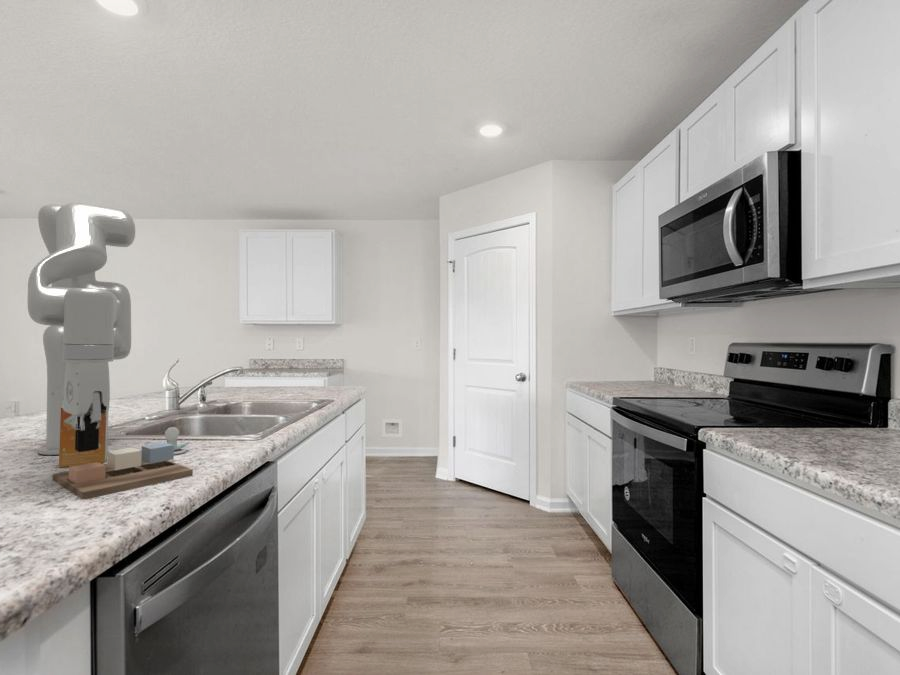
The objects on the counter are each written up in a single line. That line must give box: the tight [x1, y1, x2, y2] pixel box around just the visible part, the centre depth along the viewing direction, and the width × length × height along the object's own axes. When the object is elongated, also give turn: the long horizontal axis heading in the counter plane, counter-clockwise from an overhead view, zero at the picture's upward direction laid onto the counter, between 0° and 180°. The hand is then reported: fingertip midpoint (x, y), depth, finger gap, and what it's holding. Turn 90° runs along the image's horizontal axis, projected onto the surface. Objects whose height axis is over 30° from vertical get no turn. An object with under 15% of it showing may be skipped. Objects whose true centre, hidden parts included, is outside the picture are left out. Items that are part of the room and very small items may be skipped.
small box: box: [58, 406, 110, 468], centre depth 102 cm, size 8×6×13 cm
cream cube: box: [106, 447, 142, 470], centre depth 91 cm, size 4×4×3 cm
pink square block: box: [68, 462, 106, 484], centre depth 86 cm, size 4×4×3 cm
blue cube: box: [141, 441, 175, 464], centre depth 96 cm, size 4×4×3 cm
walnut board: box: [51, 460, 194, 500], centre depth 91 cm, size 18×18×1 cm
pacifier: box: [164, 426, 190, 456], centre depth 111 cm, size 7×6×6 cm
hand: (86, 449), depth 87 cm, fingers closed
